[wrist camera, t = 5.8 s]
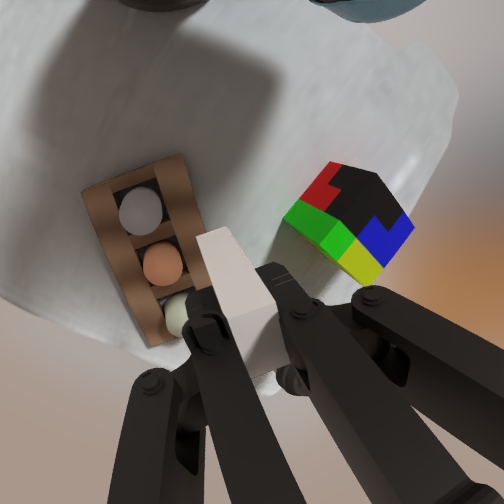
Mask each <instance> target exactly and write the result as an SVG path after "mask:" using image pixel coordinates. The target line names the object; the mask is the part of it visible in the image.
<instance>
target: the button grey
mask: <svg viewBox="0 0 504 504" xmlns="http://www.w3.org/2000/svg"><path fill="white" fill-rule="evenodd" d="M119 219H120V222H121V224H122V226H123V227H124V228H125V229H126V230H127V231H128V232H130V233H131V234H134V235H146V234H149V233H151V232H153V231H154V230H155V229H156V228H157V227H158V226H159V224H160V222H161V219H162V205H161V200H160V197H159V196H158V194H157V193H156V192H155V191H154V190H153V189H151V188H148V187H144V186H140V187H136V188H133V189H131V190H130V191H129V192H128V193H127V194H126V195H125V197H124V199H123V201H122V203H121V206H120V209H119Z"/></svg>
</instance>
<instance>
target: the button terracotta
mask: <svg viewBox="0 0 504 504" xmlns="http://www.w3.org/2000/svg"><path fill="white" fill-rule="evenodd" d="M182 269H183V266H182V261H181V257H180V253H179V250H178V248H177V246H176V245H175V244H174V243H173V242H171V241H169V240H165V239H162V240H160V241H157V242H154V243H151V244H149V245H148V246H147V247H146V249H145V251H144V259H143V271H144V274H145V277H146V278H147V279H148V280H149V281H150V282H151V283H153V284H155V285H157V286H168V285H171V284H173V283H174V282H176V281H177V280H178V279H179V278H180V276H181V274H182Z"/></svg>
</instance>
